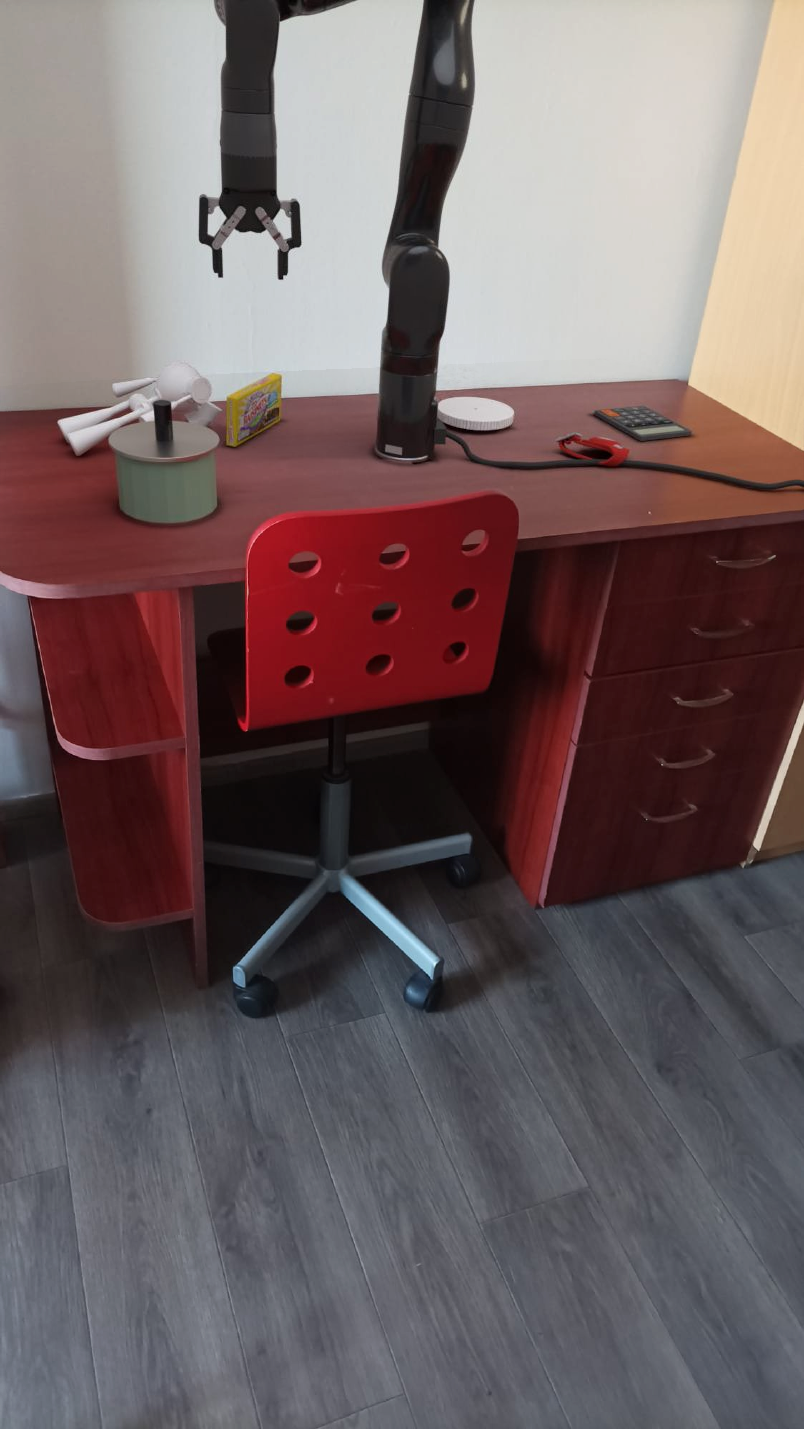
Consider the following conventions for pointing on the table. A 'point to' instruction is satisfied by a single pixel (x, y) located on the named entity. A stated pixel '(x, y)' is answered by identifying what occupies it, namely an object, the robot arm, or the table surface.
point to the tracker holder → (597, 443)
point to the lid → (163, 438)
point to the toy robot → (144, 406)
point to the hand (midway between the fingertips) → (250, 277)
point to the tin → (167, 489)
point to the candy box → (253, 409)
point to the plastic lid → (475, 413)
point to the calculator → (642, 423)
